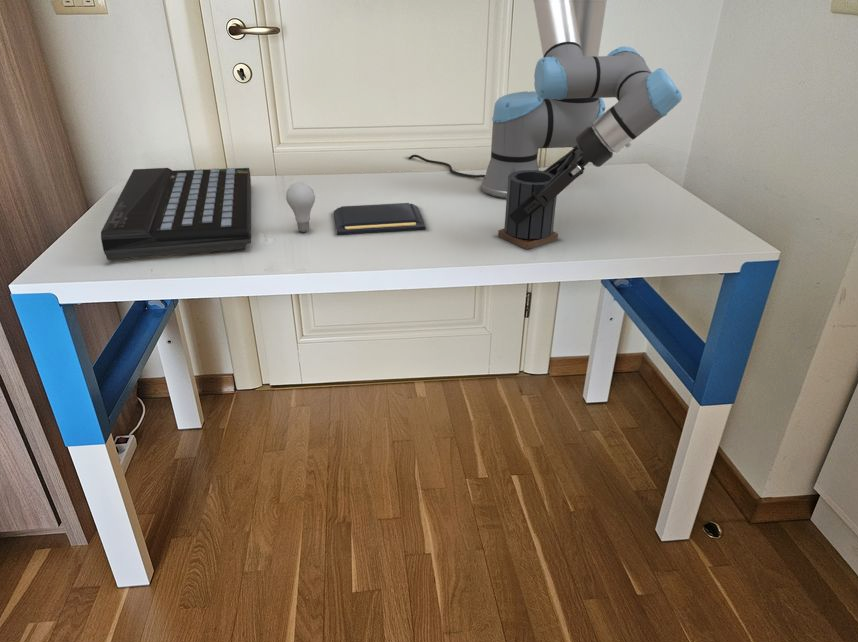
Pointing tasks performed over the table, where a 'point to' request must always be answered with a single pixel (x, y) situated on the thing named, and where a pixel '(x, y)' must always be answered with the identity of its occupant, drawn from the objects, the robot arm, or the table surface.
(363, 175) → the table surface
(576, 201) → the table surface
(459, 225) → the table surface
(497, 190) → the robot arm
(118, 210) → the computer keyboard
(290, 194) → the lightbulb
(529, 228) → the ribbed pencil cup
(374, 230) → the wallet
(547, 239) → the peg
